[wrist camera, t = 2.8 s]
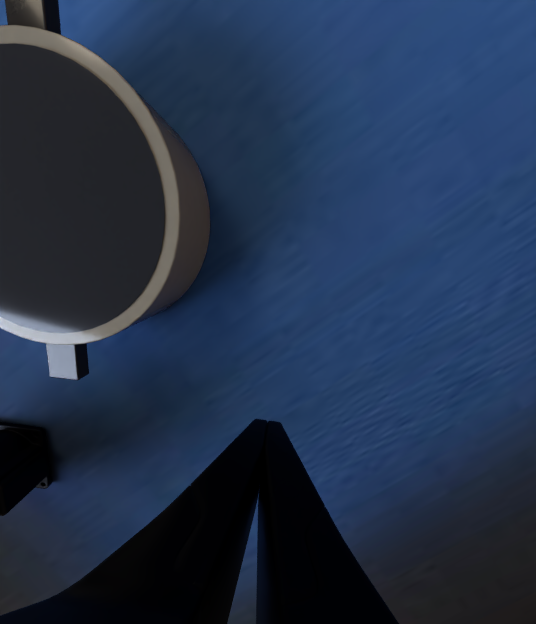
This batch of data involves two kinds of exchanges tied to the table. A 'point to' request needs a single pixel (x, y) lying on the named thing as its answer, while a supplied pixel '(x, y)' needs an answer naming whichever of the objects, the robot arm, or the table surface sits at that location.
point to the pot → (86, 195)
